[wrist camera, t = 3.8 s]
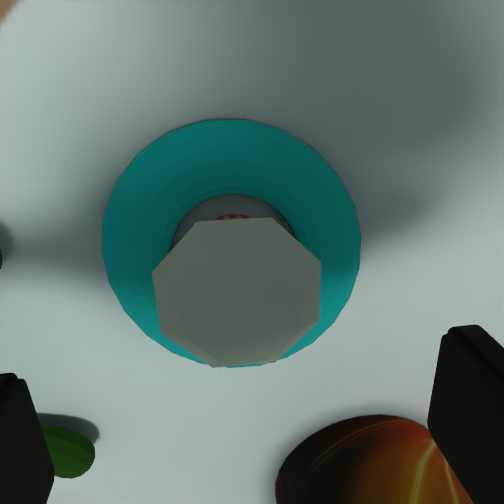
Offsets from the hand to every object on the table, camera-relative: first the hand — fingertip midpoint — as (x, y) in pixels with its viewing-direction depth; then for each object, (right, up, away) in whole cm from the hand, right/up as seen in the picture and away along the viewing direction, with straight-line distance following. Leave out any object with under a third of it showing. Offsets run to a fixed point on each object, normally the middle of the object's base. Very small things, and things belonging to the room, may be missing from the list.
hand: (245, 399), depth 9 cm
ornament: (+4, +5, +5) cm, 8 cm away
